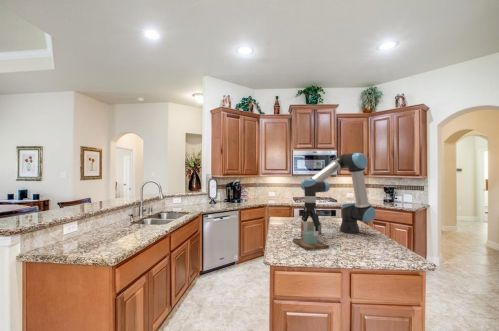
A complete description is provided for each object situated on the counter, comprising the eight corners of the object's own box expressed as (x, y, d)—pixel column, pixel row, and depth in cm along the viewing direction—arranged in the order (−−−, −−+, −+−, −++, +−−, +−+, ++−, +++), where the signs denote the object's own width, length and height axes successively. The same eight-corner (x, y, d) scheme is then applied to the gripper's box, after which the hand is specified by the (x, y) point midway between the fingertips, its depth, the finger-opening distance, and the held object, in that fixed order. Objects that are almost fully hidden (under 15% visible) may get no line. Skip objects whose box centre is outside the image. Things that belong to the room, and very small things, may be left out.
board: (312, 240, 185) (312, 237, 185) (329, 248, 166) (329, 245, 166) (292, 241, 180) (292, 239, 180) (307, 250, 161) (307, 247, 161)
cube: (311, 240, 177) (311, 230, 177) (317, 243, 171) (317, 233, 171) (302, 241, 175) (302, 231, 175) (308, 244, 168) (308, 234, 169)
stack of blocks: (314, 232, 207) (314, 217, 207) (321, 233, 203) (321, 218, 203) (300, 237, 191) (300, 221, 191) (308, 239, 187) (308, 222, 187)
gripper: (296, 199, 184) (297, 229, 184) (315, 204, 160) (315, 238, 160) (305, 199, 186) (306, 228, 186) (325, 204, 162) (326, 237, 162)
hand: (310, 233), depth 173 cm, fingers open, 13 cm apart
